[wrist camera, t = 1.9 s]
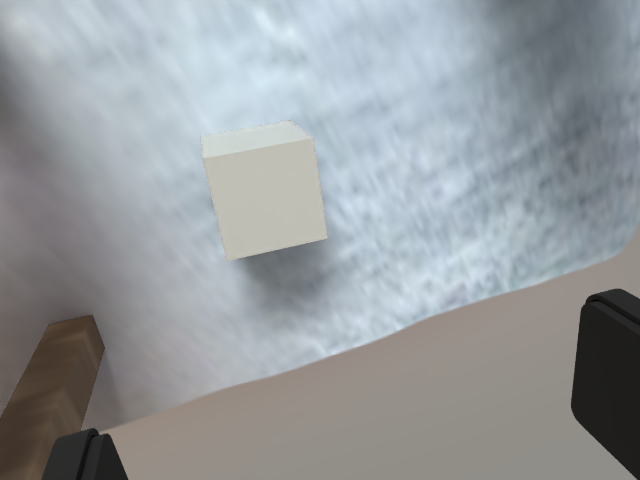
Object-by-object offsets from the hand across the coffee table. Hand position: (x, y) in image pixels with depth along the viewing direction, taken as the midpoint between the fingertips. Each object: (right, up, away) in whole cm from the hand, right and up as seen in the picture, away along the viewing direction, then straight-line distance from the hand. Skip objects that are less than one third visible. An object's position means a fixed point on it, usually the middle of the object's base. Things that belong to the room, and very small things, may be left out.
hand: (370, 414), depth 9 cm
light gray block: (-5, +7, +18) cm, 20 cm away
